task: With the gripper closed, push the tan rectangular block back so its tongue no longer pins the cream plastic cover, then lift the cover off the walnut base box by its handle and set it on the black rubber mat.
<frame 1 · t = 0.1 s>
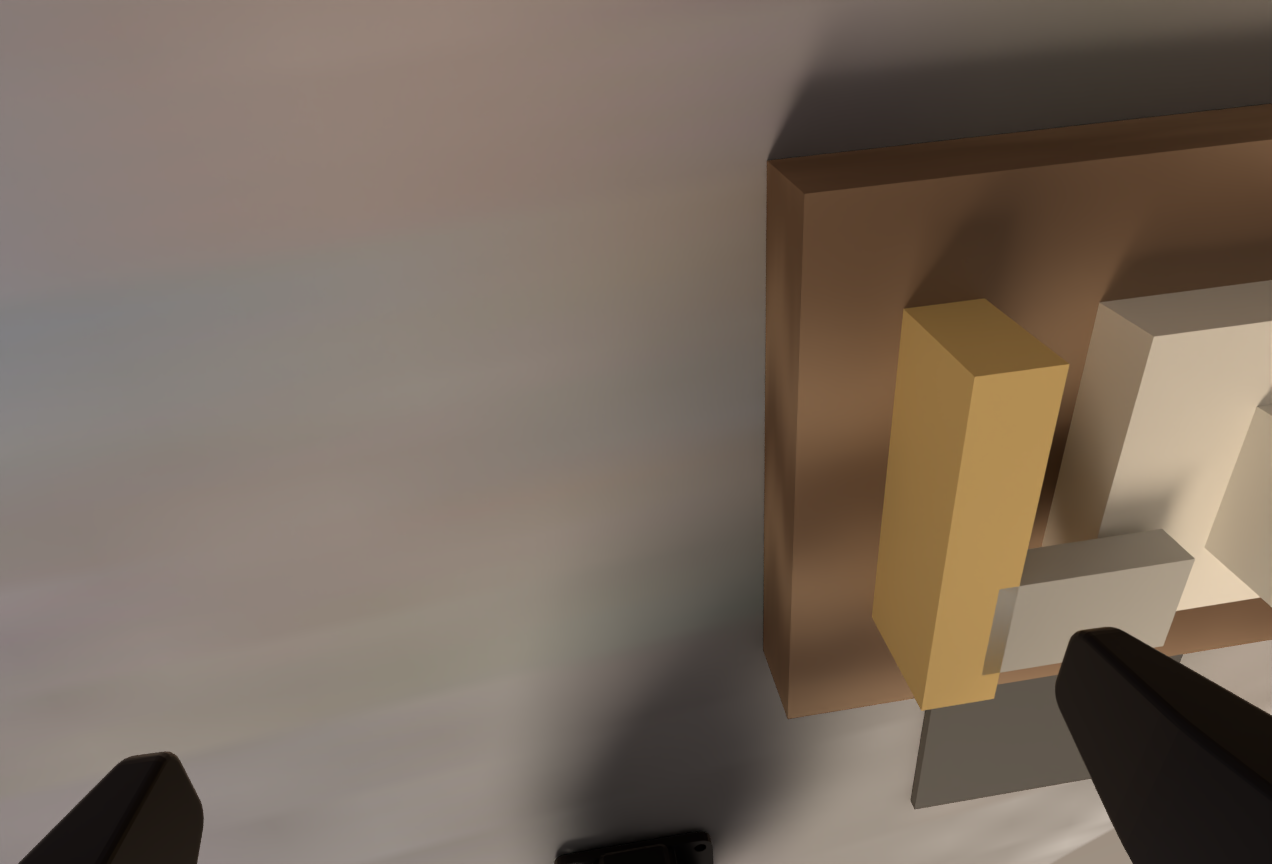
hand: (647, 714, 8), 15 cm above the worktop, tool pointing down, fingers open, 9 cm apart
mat: (1043, 703, 33), on the worktop
cover: (1217, 433, 23), point 3 cm above the worktop, touching base box
tan rectangular block: (1036, 502, 21), point 5 cm above the worktop, slide at 0.0 cm, touching base box
base box: (1035, 412, 25), on the worktop
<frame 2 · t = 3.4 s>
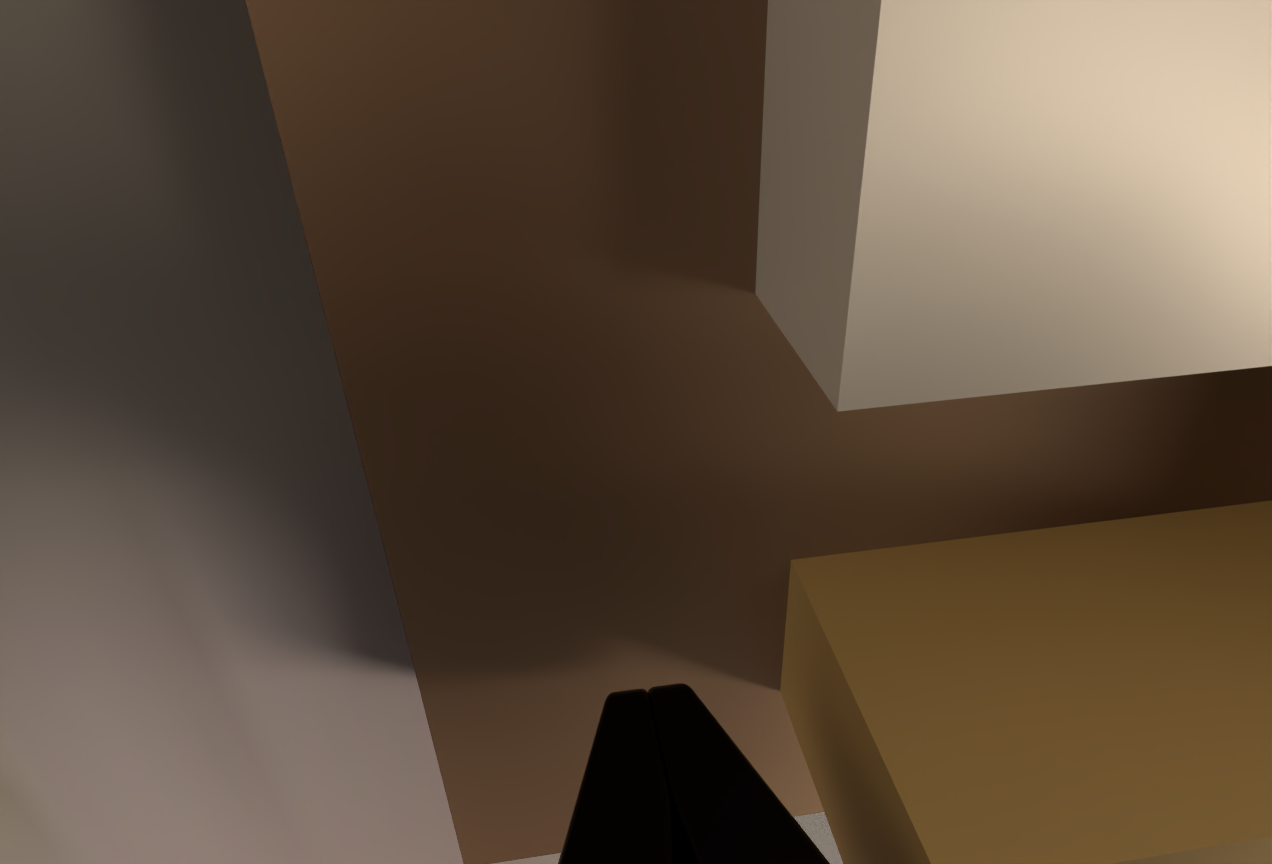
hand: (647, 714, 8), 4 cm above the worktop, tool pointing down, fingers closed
base box: (1115, 75, 9), on the worktop
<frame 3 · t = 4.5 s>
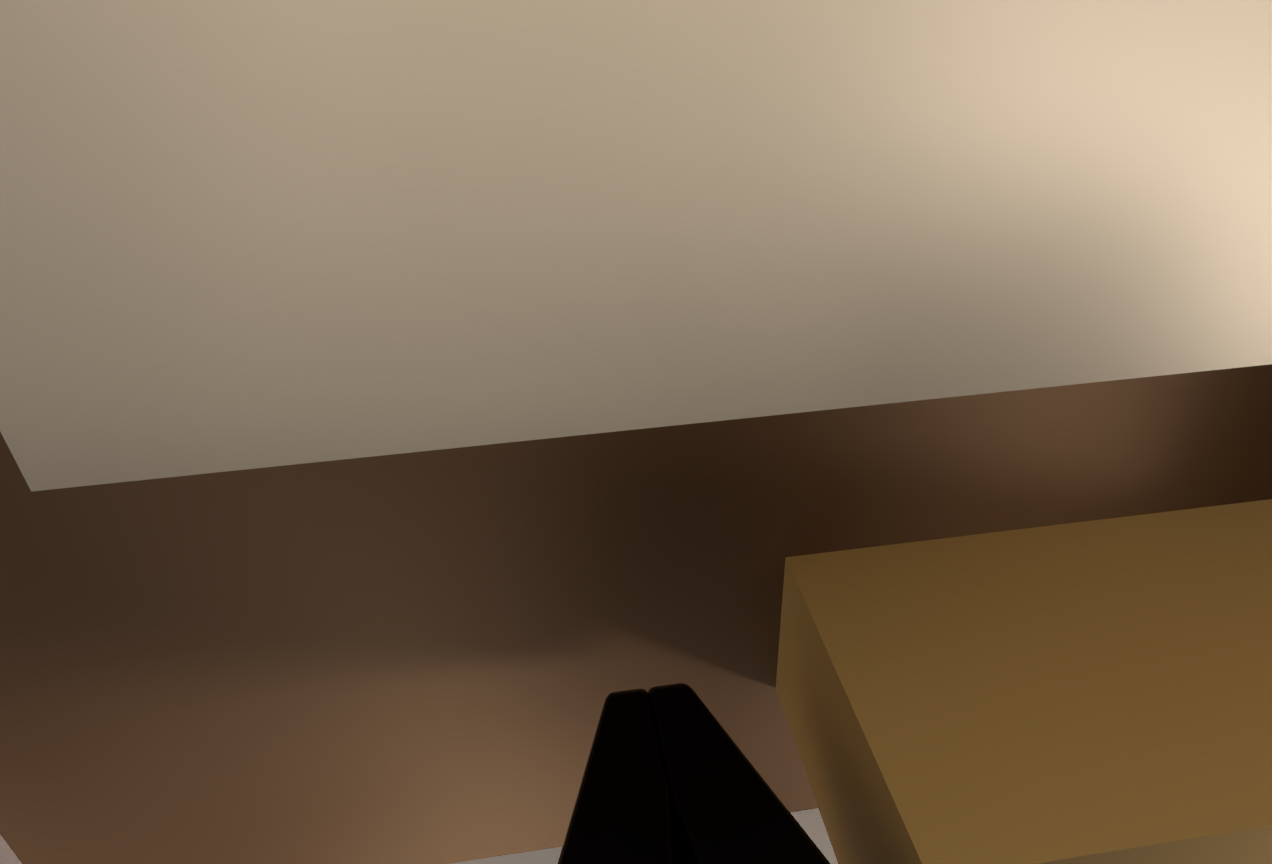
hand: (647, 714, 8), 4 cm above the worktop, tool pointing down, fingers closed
base box: (692, 107, 9), on the worktop
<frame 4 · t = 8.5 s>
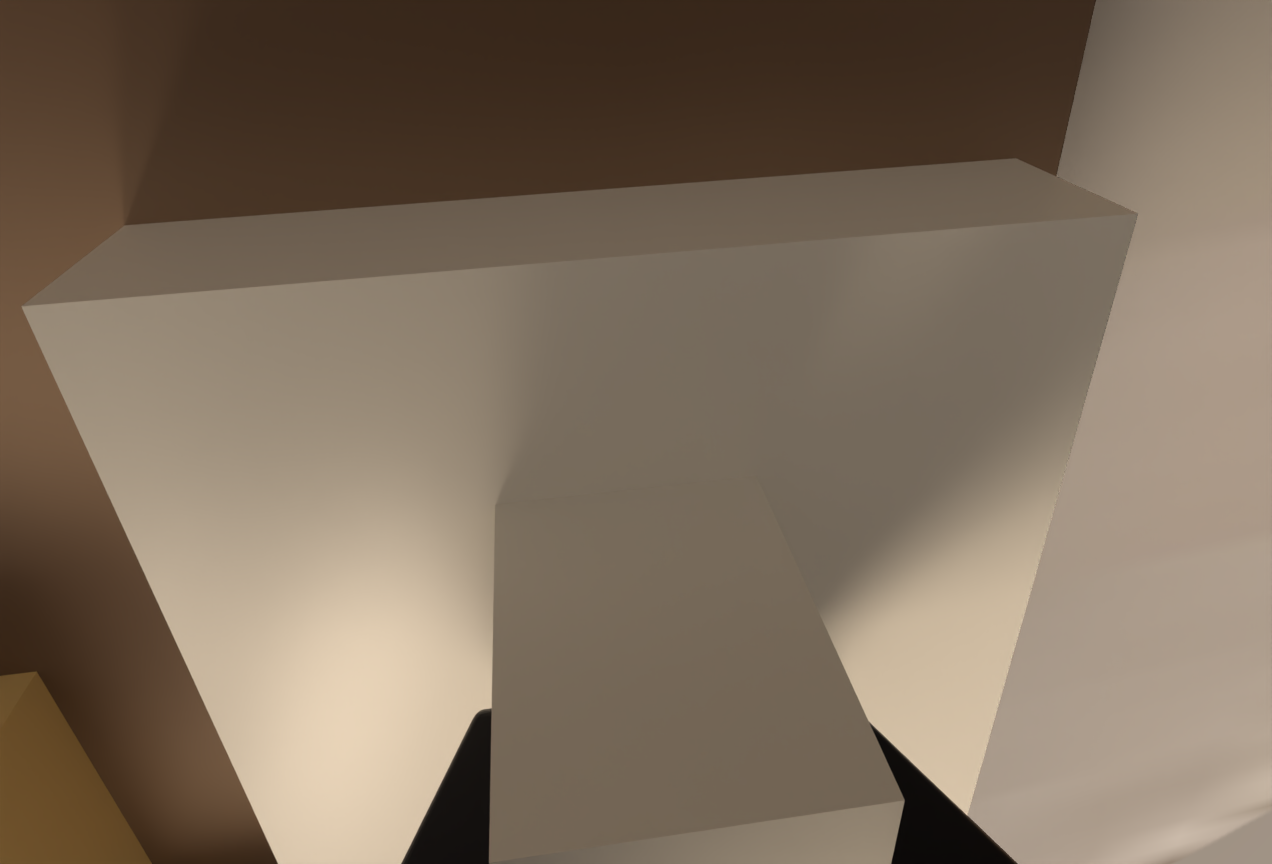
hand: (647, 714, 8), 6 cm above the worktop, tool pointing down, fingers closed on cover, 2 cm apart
cover: (615, 539, 11), point 3 cm above the worktop, touching base box, gripper
base box: (378, 471, 13), on the worktop
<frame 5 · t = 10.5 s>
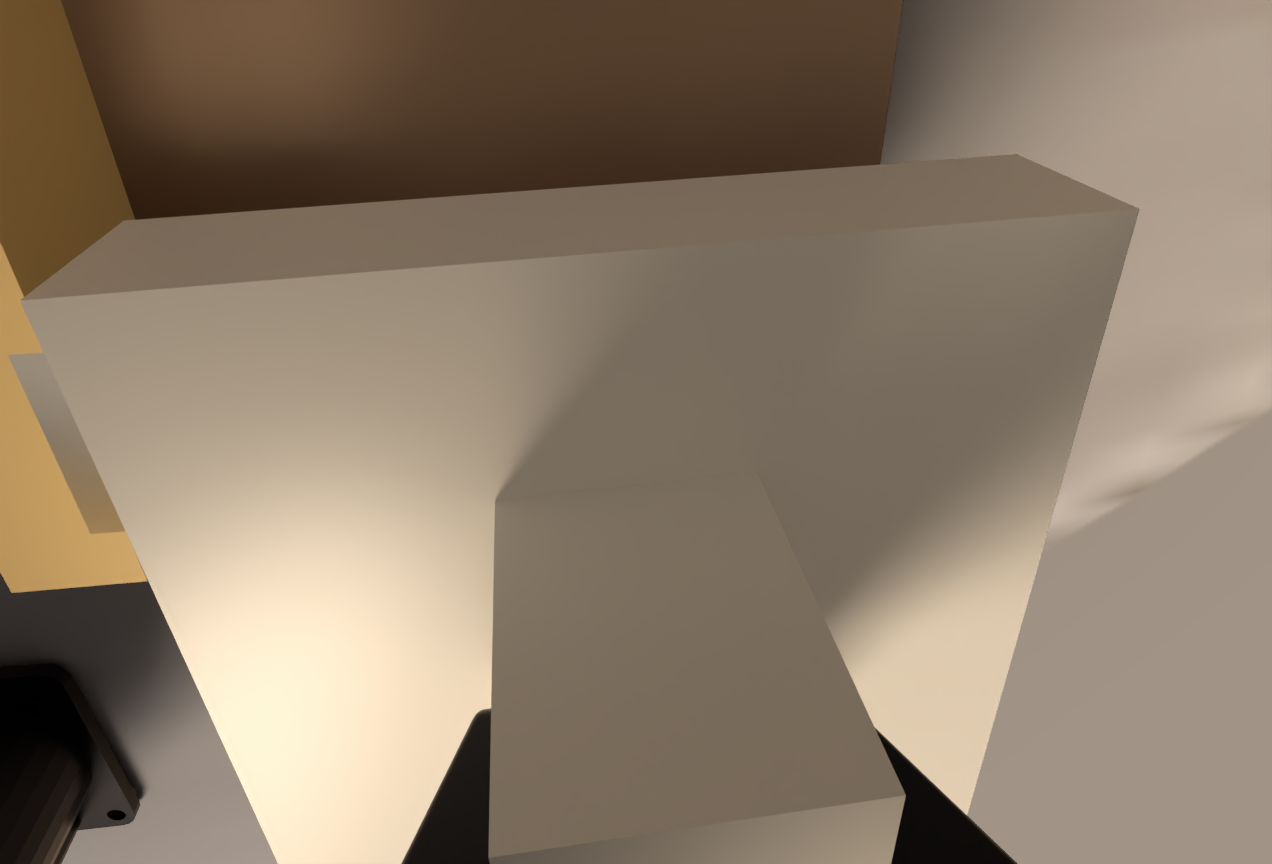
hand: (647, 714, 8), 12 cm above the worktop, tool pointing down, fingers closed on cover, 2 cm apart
cover: (615, 536, 11), point 9 cm above the worktop, touching gripper
tan rectangular block: (171, 230, 12), point 5 cm above the worktop, slide at 6.1 cm, touching base box
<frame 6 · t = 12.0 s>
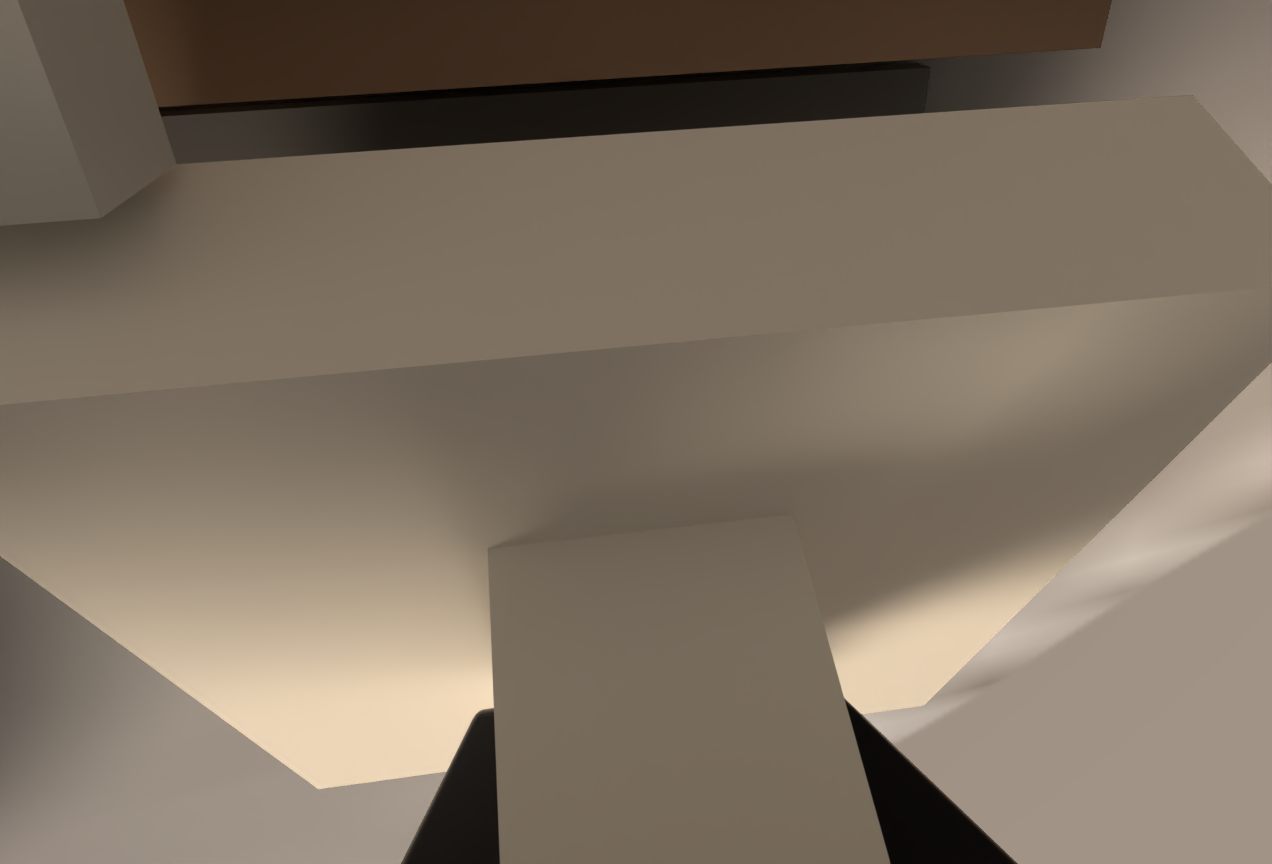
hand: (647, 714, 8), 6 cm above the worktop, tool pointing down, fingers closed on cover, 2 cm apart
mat: (569, 425, 13), on the worktop
cover: (613, 469, 10), point 3 cm above the worktop, tilted 24°, touching gripper
when the fingers open (5 cm above the worktop, at t = 12.4 s): cover stays where it is, resting on base box, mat.
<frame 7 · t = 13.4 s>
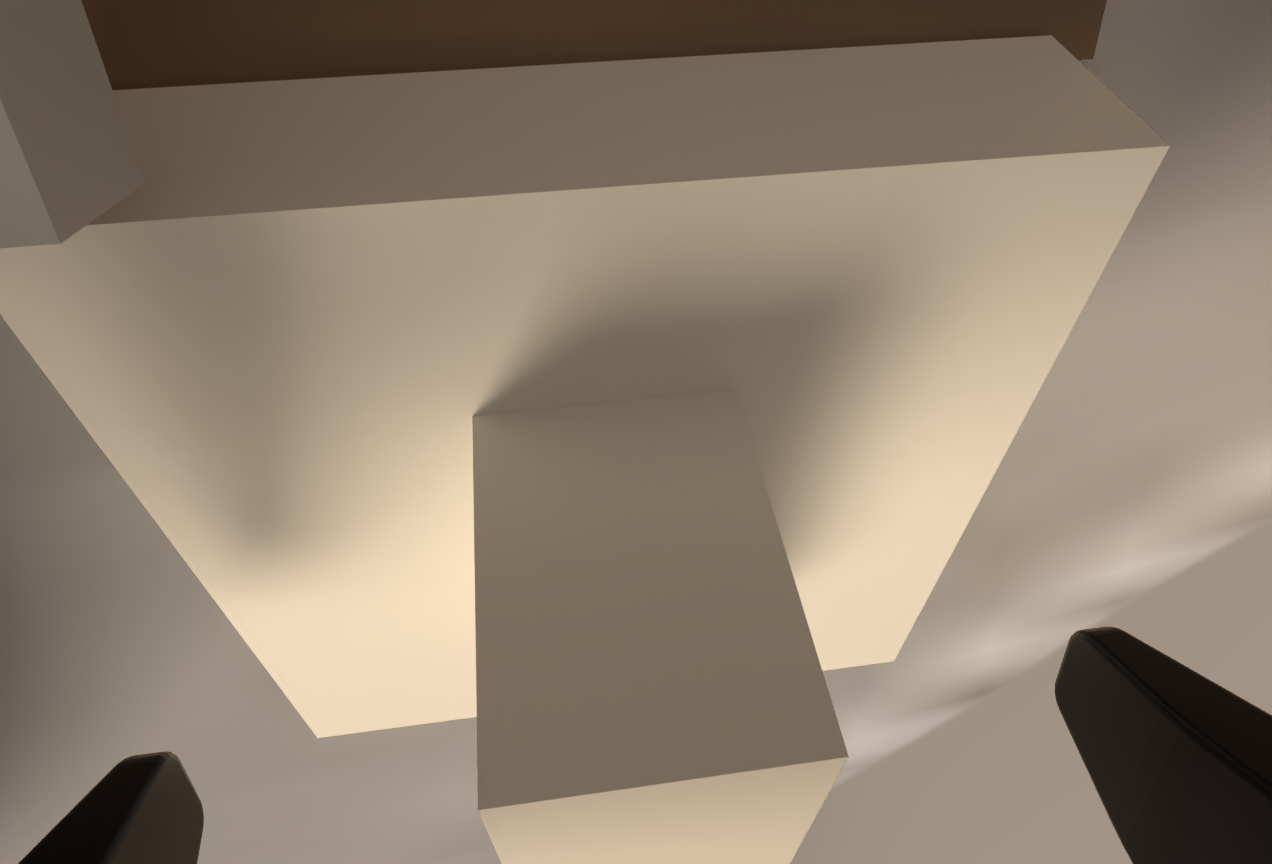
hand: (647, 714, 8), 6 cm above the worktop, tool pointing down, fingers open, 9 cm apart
cover: (592, 407, 11), point 2 cm above the worktop, tilted 17°, touching base box, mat
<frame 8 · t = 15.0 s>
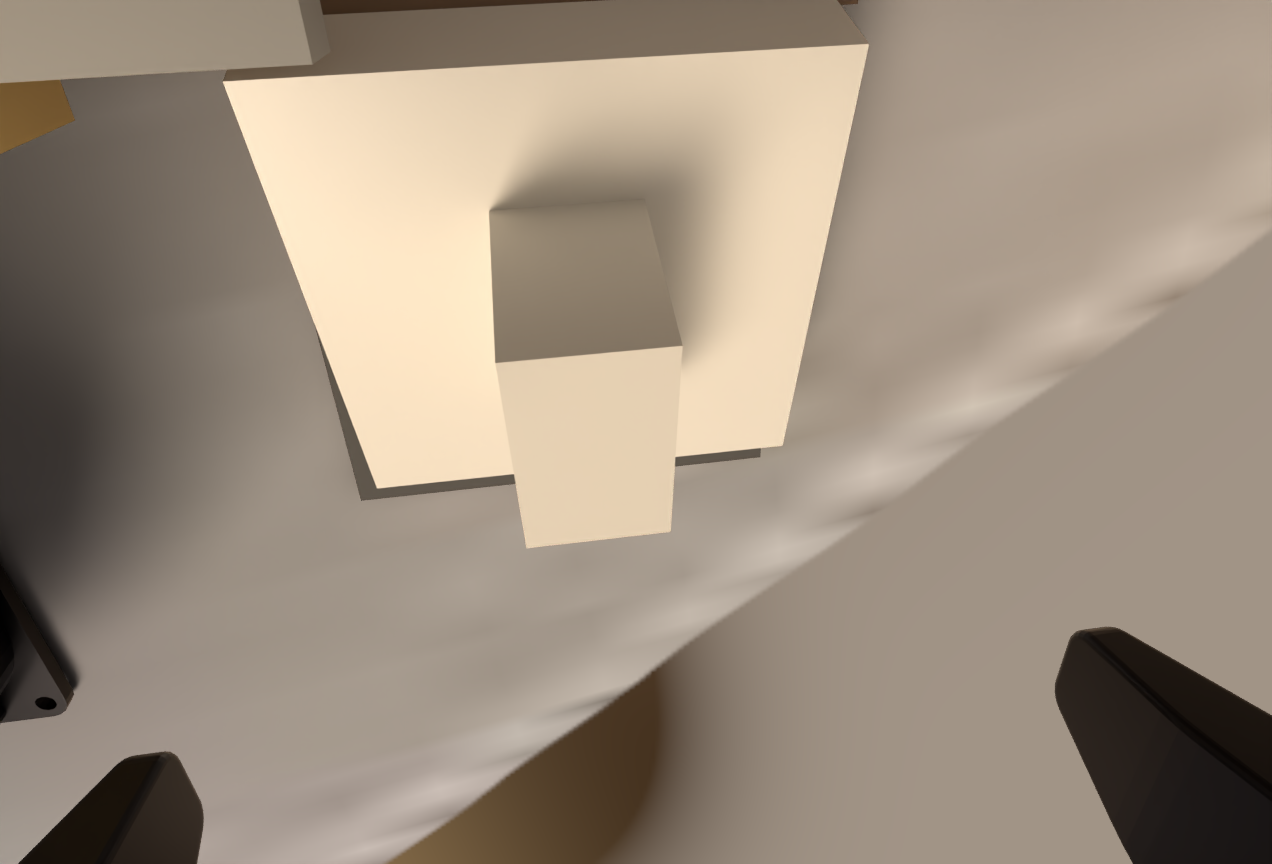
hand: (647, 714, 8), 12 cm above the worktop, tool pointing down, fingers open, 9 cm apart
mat: (545, 283, 18), on the worktop
cover: (565, 243, 16), point 2 cm above the worktop, tilted 17°, touching base box, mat
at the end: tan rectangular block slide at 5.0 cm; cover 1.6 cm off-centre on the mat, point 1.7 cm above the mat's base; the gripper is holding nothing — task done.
